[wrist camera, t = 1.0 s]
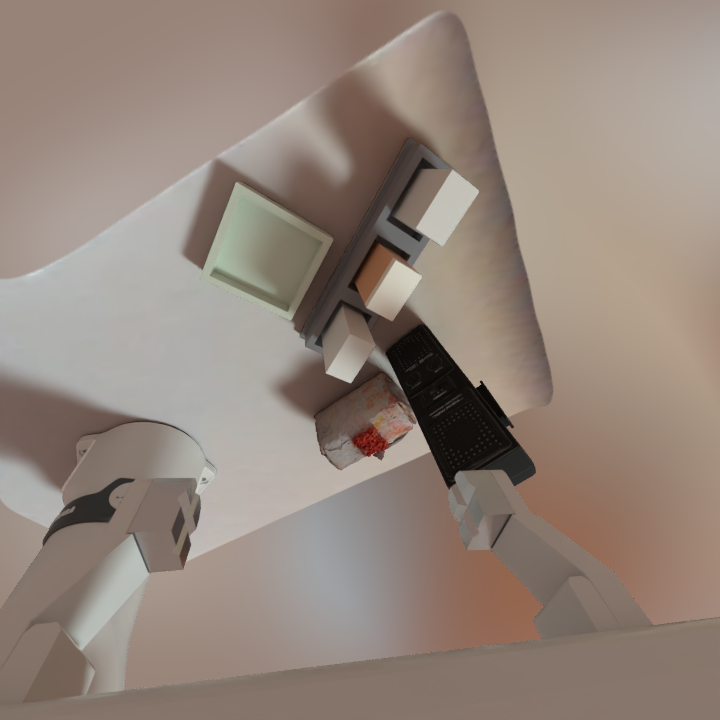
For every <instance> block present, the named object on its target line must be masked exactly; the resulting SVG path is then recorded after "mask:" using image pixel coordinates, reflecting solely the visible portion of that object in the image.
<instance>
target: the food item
mask: <svg viewBox="0 0 720 720" xmlns="http://www.w3.org/2000/svg"><path fill="white" fill-rule="evenodd" d="M314 418H315V419H316V422H315V426H316V432H317V440H318V442H319V446H320V451H321V454H322V455H324V456H325V457H326V458H327V459H328V460H329V462H330V463H331V464H333V465H334V466H335V467H336V468H337V469H339V470H342V469H344V468H346V467H347V466H349V465H351V464H353V463H355V462H357V461H359V460H360V459H362V458H363V457H366V456H368V457H369V456H371V454H372V453H375V452H376V451H377V452H376V453H375V454H373V456H375V457H378V459H380V460H382V459H383V457H384V455H383V454H384V453H385V451H384V450H386V449H388V448H389V447H391V446H392V445H394V444H396V443H397V442H399V441H401V440H402V439H403V438H404V437H405V435H406V434H407V433H408V431H410V430H411V429H413V424H416V422H417V419H416V417H415V415H414V412H413V410H412V408H411V406H410V404H409V402H408V400H407V397H406V395H405V393H404V392H403V391H402V390H401V389H400V388H399V386H398V385H396V384H395V383H394V382H393V381H392V380H391V379H390V378H389V377H388V376H387V375H385V374H384V373H379V374H378V375H377V376H375V377H374V378H372V379H371V380H369V381H367V382H366V383H364V384H363V385H361V386H360V387H358V388H357V389H355V390H353V391H352V392H350V393H349V394H347V395H346V396H344V397H342V398H341V399H339V400H338V401H336V402H334V403H333V404H331V405H330V406H329V407H327V408H325V409H324V410H323V411H321V412H319V413H318V414H316V415H314ZM393 440H394V442H392V443H389V442H391V441H393ZM388 443H389V444H388ZM382 452H383V453H382Z"/></svg>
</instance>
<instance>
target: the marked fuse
mask: <svg viewBox="0 0 720 720" xmlns="http://www.w3.org/2000/svg"><path fill="white" fill-rule="evenodd" d="M422 277H423V276H421V275H420V274H419V273H418V272H417V271H416V270H415V269H414V268H413V267H412V266H410V265H409V264H408V263H407V262H406V261H405V260H404V259H403V258H402V257H401V256H399V255H398V254H397V253H396V252H395V251H393V250H392V249H390V248H388V247H387V246H385V245H384V244H382V243H380V242H379V241H377V240H376V239H375V240H374V242H373V244H372V245H371V247H370V249H369V251H368V252H367V254H366V256H365V257H364V259H363V261H362V263H361V264H360V266H359V268H358V270H357V271H356V273H355V275H354V276H353V280H354V282H355V284H356V286H357V289H358V291H359V293H360V295H361V297H362V300H363V302H364V304H365V306H366V308H367V309H369V310H371V311H373V312H375V313H377V314H379V315H381V316H383V317H385V318H387V319H388V320H390V321H393V320H394V318H395V317H396V315H397V314H398V312H399V311H400V309H401V308H402V306H403V305H404V303H405V302H406V300H407V299H408V297H409V296H410V294H411V293H412V291H413V290H414V288H415V287H416V285H417V284H418V283H419V281H420V280H421V278H422Z"/></svg>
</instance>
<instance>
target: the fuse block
mask: <svg viewBox="0 0 720 720" xmlns="http://www.w3.org/2000/svg"><path fill="white" fill-rule="evenodd" d="M478 193H479V190H477V189H476V188H475V187H474V186H472V185H471V184H470V183H469V182H468V181H467V180H466V179H464V178H463V177H462V176H461V175H459V174H458V173H457V172H456V171H455V170H453V169H452V168H451V167H450V166H448V165H447V164H446V163H445V162H444V161H442V160H441V159H440V158H439V157H437V156H436V155H435V154H434V153H432V152H431V151H430V150H429V149H428V148H426V147H425V146H424V145H423V144H421V143H418V142H416V141H415V140H414V139H413V138H412V137H408V138H407V140H406V142H405V144H404V146H403V147H402V149H401V151H400V153H399V155H398V156H397V158H396V160H395V162H394V164H393V166H392V167H391V169H390V171H389V173H388V175H387V176H386V178H385V180H384V182H383V184H382V186H381V187H380V189H379V191H378V193H377V195H376V196H375V198H374V200H373V202H372V204H371V206H370V207H369V209H368V211H367V213H366V215H365V216H364V218H363V220H362V222H361V224H360V226H359V227H358V229H357V231H356V233H355V235H354V236H353V238H352V240H351V242H350V244H349V245H348V247H347V249H346V251H345V253H344V255H343V256H342V258H341V260H340V262H339V264H338V265H337V267H336V269H335V271H334V273H333V275H332V276H331V278H330V280H329V282H328V284H327V285H326V287H325V289H324V291H323V293H322V295H321V296H320V298H319V300H318V302H317V304H316V305H315V307H314V309H313V311H312V313H311V315H310V316H309V318H308V320H307V322H306V324H305V325H304V327H303V329H302V331H301V333H300V338H303V339H305V347H307V348H309V349H312V350H314V351H316V352H319V353H321V354H323V355H324V362H325V371H326V374H329V375H331V376H334V377H336V378H339V379H341V380H344V381H346V382H348V383H351V382H352V381H353V380H354V378H355V377H356V375H357V374H358V372H359V371H360V369H361V368H362V366H363V365H364V363H365V362H366V360H367V359H368V357H369V356H370V354H371V353H372V351H373V350H374V348H375V347H376V345H375V343H374V340H373V338H372V335H371V333H370V331H371V329H372V327H373V326H374V324H375V323H376V321H377V320H378V318H379V317H380V315H379V314H377V313H375V312H373V311H371V310H369V309H367V308H366V306H365V304H364V302H363V300H362V297H361V295H360V293H359V291H358V289H357V286H356V284H355V282H354V280H353V276H354V275H355V273H356V271H357V270H358V268H359V266H360V264H361V263H362V261H363V259H364V257H365V256H366V254H367V252H368V251H369V249H370V247H371V245H372V244H373V242H374V240H375V239H376V240H377V241H379V242H380V243H382V244H384V245H385V246H387V247H388V248H390V249H392V250H393V251H395V252H396V253H397V254H398V255H399V256H401V257H402V258H403V259H404V260H405V261H406V262H407V263H408V264H409V265H410V266H413V264H414V263H415V261H416V260H417V258H418V256H419V255H420V253H421V252H422V250H423V249H424V247H425V246H426V244H427V243H428V241H429V240H432V241H433V242H435V243H437V244H439V245H441V246H442V247H443V245H444V244H445V242H446V241H447V239H448V238H449V236H450V235H451V233H452V232H453V230H454V229H455V227H456V226H457V224H458V223H459V221H460V220H461V218H462V217H463V215H464V214H465V212H466V211H467V209H468V208H469V206H470V205H471V203H472V202H473V200H474V199H475V197H476V196H477V194H478Z"/></svg>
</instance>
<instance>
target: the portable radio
mask: <svg viewBox="0 0 720 720" xmlns="http://www.w3.org/2000/svg"><path fill="white" fill-rule="evenodd" d="M386 355H387V357H388V359H389V361H390V364H391V366H392V368H393V370H394V372H395V374H396V376H397V378H398V380H399V382H400V385H401V387H402V389H403V391H404V393H405V395H406V397H407V400H408V402H409V404H410V406H411V408H412V410H413V412H414V415H415V417H416V419H417V421H418V423H419V426H420V428H421V430H422V432H423V434H424V437H425V439H426V441H427V443H428V445H429V448H430V450H431V452H432V454H433V456H434V458H435V461H436V463H437V465H438V467H439V469H440V472H441V474H442V476H443V478H444V481H445V483H446V485H447V487H448V488H449V490H450V488H451V487H452V486H453V485H455V484H456V481H455V476H456V473H458V472H459V471H470V470H503V471H504V472H505V473H506V474H507V476H508V477H509V479H510V480H511V482H512V484H513V485H514V486H516V485H517V484H519V483H521V482H523V481H524V480H526V479H528V478H529V477H531V476H533V475H534V474H535V473H536V470H535V466H534V464H533V462H532V460H531V459H530V458H529V456H528V455H527V454H526V452H525V451H524V450H523V448H522V447H521V446H520V444H519V443H518V442H517V441H516V439H515V438H514V437H513V436H512V434H511V433H510V432H509V431H508V429H507V428H506V427H507V426H509V425H510V426H511V428H514V426H513V425H512V423H511V422H510V420H509V419H508V418H507V416H506V415H505V413H504V412H503V410H502V409H501V408H500V406H499V405H498V403H497V402H496V400H495V399H494V397H493V396H492V395H491V393H490V392H489V390H488V389H487V387H486V386H485V385H484V383H483V382H482V381H480V383H481V385H480V386H478V387H477V388H475V387H474V386H473V384H472V383H471V382H470V381H469V379H468V378H467V377H466V375H465V374H464V373H463V372H462V370H461V369H460V368H459V367H458V365H457V364H456V363H455V361H454V360H453V359H452V358H451V356H450V355H449V354H448V352H447V351H446V350H445V349H444V347H443V346H442V345H441V344H440V342H439V341H438V340H437V338H436V337H435V336H434V335H433V333H432V332H431V331H430V329H429V328H428V327H427V326H426V325H420V326H419V327H417V328H416V329H415V330H413V331H412V332H411V333H409V334H408V335H406V336H405V337H404V338H402V339H401V340H400V341H399V342H397V343H396V344H395V345H393V346H392V347H391V348H389V349H388V350H387V352H386Z"/></svg>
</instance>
